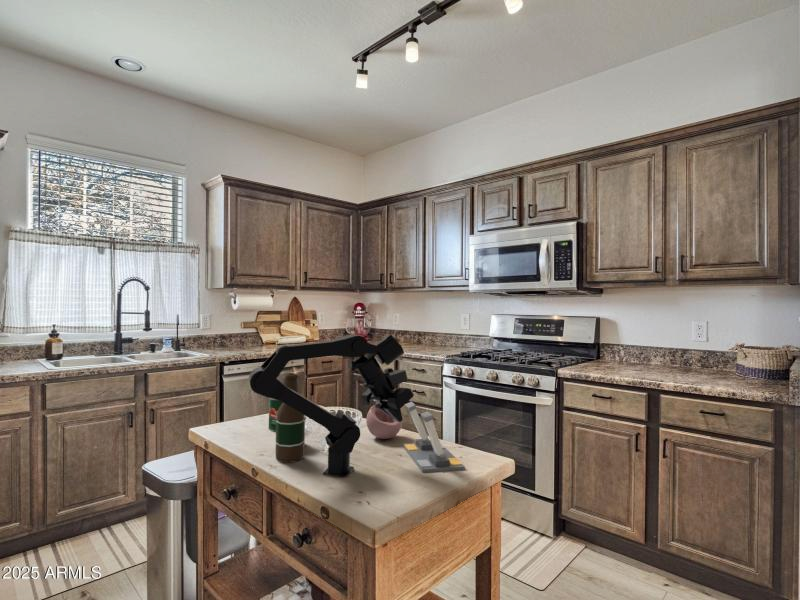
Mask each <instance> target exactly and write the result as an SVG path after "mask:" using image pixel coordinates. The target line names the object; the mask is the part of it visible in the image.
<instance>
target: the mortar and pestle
mask: <svg viewBox="0 0 800 600" xmlns="http://www.w3.org/2000/svg"><path fill="white" fill-rule="evenodd" d="M376 405H377V404H375V405H374V404H373V406H371V407H370V408H369V410H368V412H367V415H366V427H367V429H368V431H369V432H370V434H371V435H372V436H373V437H375V438H377V439H378V440H379V439H380V440H388V439H392V438H394V437H395V436H396V435H398V434H399V432H400V430H401V429H402V426H403V423H404V420H402V421H401V422H398V421H396V420H395V419H393V418H392V417H390V416H389V415H387V414H386V413H384V412H382V411H381V410H379V409H378V408H376V407H375V406H376Z"/></svg>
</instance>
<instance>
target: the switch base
mask: <svg viewBox="0 0 800 600" xmlns="http://www.w3.org/2000/svg"><path fill="white" fill-rule="evenodd" d="M428 440H429V442H428V443H426V442H425V441H424V440H423V439H422V438H418V439H417V438H416V439H415V442H413V443H412V442H411V443H410V442H409V443H402V448H403V449H404V451H406V453H407V454H408V455H409V457H410V458H411V459H412V461H413V462H414V463H415V465H416V466H417V467H418V469H419V470H420V472H421V473H435V472H447V471H463V469H464V470H466V467H465V465H464V464H463V463H462V462H461V461H460V460H459V459H458V458H456V456H455V455H454V454H452V453H451V452H450V450H449V449H447V448H446V446H444V445H443V443H441V442H440V444H441V447H442V450H443V453H444V454H443V455H444V458H443V459H440V457H439V456H438V455H437V454H436V453H435V452H434V450H433V447H432V444H431V441H430V438H428Z"/></svg>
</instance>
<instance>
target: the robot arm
mask: <svg viewBox="0 0 800 600" xmlns="http://www.w3.org/2000/svg"><path fill="white" fill-rule="evenodd" d="M365 354H366V355H365ZM403 355H405V350H404V348H403V346H402V345H401V344H400V343H399V342H398V341H397V339H395V338H394V336H393V334H387V335H386V336H385V337H384V338H382V339H381V340H380V341H378V342H376V343H372V342H368V340H367V339H366V338H365V337H364V336H363V335H359V334H356V333H351V334H350V333H349V334H347V335H343V336H339V337H337V338H334V339H331V340H324V341H316V342H306V343H305V342H304V343H295V344H282V345H279V346H277V348H276V350H275V351H274V352H273V353H272V354H271V355H270V356H269V357H268V358H267V359H266V360H265V361H264V362H262V364H261V365H260V366H259V367H256V368H254V369H253V370H252V371H250V373H249V375H248V383H249V387H250V389H251V391H253V392H254V393H256V394H258V395H260V396H263V397H264V398H265V397H266V398H268V399H269V398H272V399H276V400H279V401H281V402H283V403H285V404H286V405H288V406H290V407H291V408H293V409H295V410H296V411H298V412H300V413H302V414H303V415H305V416H306V418H308V419H310V420H312V421H313V422H315V423H317V424H319V425H320V426H322V427H324V428H325V429H326V430H327V431H328V433H327V435H326V436H325V437H324V439H325V441H326V445H327V446H328V448H327V453H328V454H327V468H326V469H325V470H324V471H323V472H322V475H323V476H324V475H325V476H333V477H340V478H347V477H348V476H349V475H350V474H351V473H352V471H353V470H355V467H354V466H351V463H350V461H351V453H353V451H354V450H353V449H354V447H355V445H356V443H358V441H359V439H360V437H361V428H360V427H359V425H357V423H358V422H357V421H356V420H355V419H354V418H353V417H352V416H351V415H347V414H345V413H344V412H343V411H341V410H340V409H338V410H337V412H336V413H334V412H330V411H328V410H327V409H326V408H323V407H321V406H320V405H318V404H317V403H315V402H313V401H311V400H310V399H308V398H307V397H305V396H304V395H302V394H300V393H299V392H298V393H297V392H295V391H294V390H292V389H290V388H289V387H287V386H286V385H285V383H284V382H282V380H281V379H279V378H278V377H279V376H280V375H281V373H282V372H283V370H284V369H285V368H286V366H287V365H288V363H289V362H290V361H298V360H307V359H315V358H316V359H317V358H322V357H325V358H326V357H331V356H332V357H333V356H338V357H346V358H356V359H354V360H353V359H350V360H349V364H348V365H347V370H349V371H351V372H354V371H356V370H357V371H358V373H359V375H360V376H361V378H362V380H363V382H364V383H363V384H362V385H363V386H364V388H368V389H366V390H365V391H364V392H363V393H362V394H361V398H360V400H361V403H363V405H365V406H370V404H371V401H370V400H372V401H373V402H375V405H376V406H375V407H376V408H378V409H379V410H381V411H382V412H384V413H386V414H387V415H389V416H390V417H392V418H393V419H395V420H396V421H398V422H401V421H402V420H403V414H402V410H401V409H402V408H403V407H404V406H405V405H406V404H407V403H409V401H410V400H411V399H413V397H414V396H415V393H414V392H413V390H412V388H409V387H398V385H400V384H402V383H407V382H408V381H409V378H408V374H407V371H406V369H396V370H395V369H393V368H389V367H388V368H385V369H384V370H383V368H382V367H381V365H386V366H390V364H392V363H393V362H394V361H396V360H397V359H398V358H400V357H402V356H403ZM403 421H404V420H403Z"/></svg>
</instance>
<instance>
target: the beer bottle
mask: <svg viewBox="0 0 800 600" xmlns="http://www.w3.org/2000/svg"><path fill="white" fill-rule="evenodd" d="M298 378H299V376H298V374H297V373H293V372H291V373H286V374H285V375H284V381H285V383H284V384H285V385H286V386H287V387H289V388H290V389H292V390H294V391H295V392H297V393H299V392H298V391H299V390H298ZM304 450H305V444H304V415H303V414H302V413H300V412H298V411H296V410H295V409H293V408H291V407H290V406H288V405H286V404H285V403H282V405H281V406H280V408H279V410H278V412H277V418H276V431H275V459H276V461H278V462H279V461H280V463H286V462H287V463H289V464H290V463H295V461H296V462H299V461H301V460H302V459H303V457H304V452H305V451H304ZM287 463H286V464H287Z"/></svg>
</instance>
